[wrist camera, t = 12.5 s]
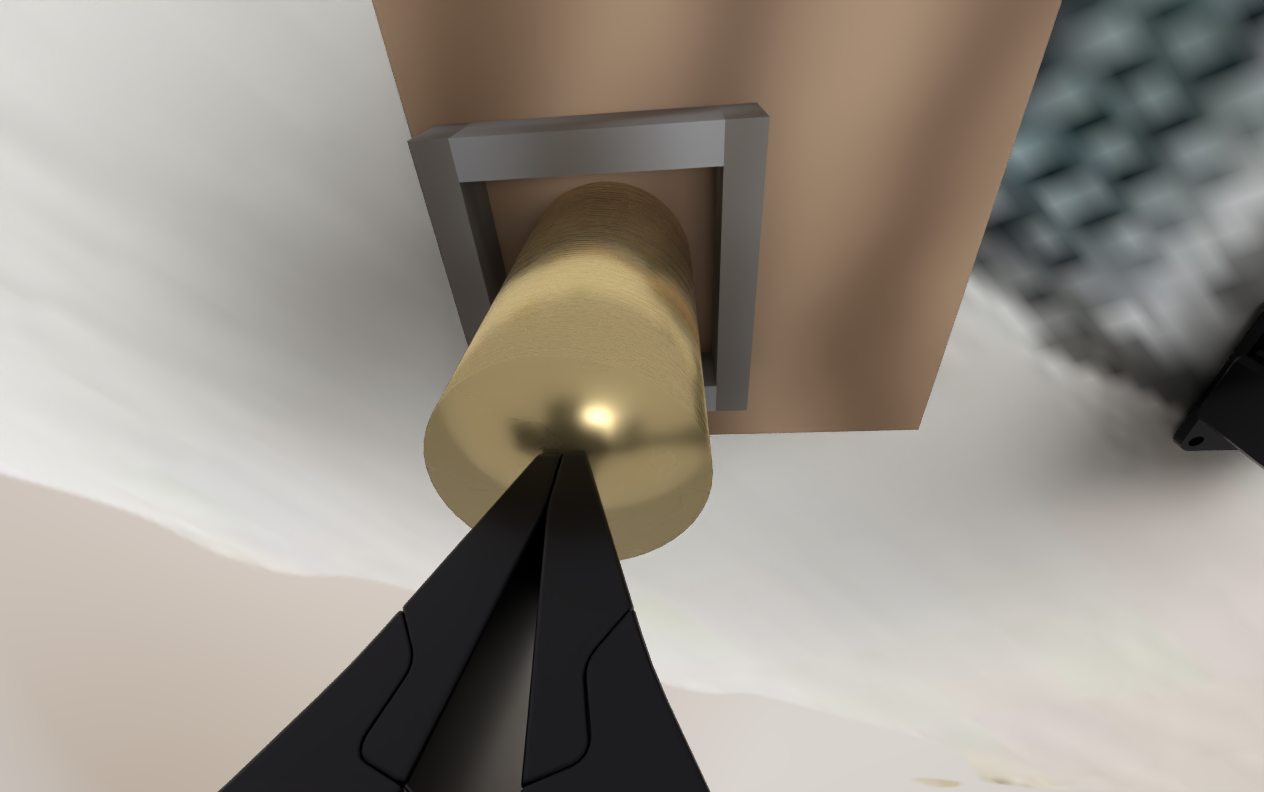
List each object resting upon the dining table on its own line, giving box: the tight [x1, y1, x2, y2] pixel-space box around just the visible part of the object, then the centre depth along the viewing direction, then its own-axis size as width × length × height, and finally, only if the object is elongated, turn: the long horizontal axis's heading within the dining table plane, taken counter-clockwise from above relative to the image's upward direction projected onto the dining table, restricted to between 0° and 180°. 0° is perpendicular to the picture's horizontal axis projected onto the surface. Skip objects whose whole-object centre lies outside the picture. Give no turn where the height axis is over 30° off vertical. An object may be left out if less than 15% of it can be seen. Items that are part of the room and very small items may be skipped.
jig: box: [372, 0, 1062, 435], centre depth 16 cm, size 16×14×4 cm
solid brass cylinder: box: [424, 182, 713, 560], centre depth 13 cm, size 5×5×9 cm
